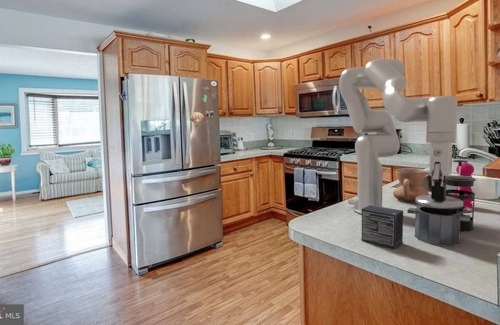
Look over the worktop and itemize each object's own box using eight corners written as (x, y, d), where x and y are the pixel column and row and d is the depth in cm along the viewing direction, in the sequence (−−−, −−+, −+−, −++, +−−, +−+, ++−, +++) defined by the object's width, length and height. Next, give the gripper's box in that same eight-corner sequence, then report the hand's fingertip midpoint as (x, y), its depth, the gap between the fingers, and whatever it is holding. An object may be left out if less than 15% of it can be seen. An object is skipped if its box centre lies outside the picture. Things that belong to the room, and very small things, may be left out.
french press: (444, 219, 111) (447, 157, 108) (476, 225, 104) (480, 159, 101) (436, 228, 103) (439, 161, 100) (470, 234, 96) (474, 163, 93)
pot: (403, 238, 95) (404, 211, 94) (411, 227, 104) (412, 202, 103) (467, 250, 85) (468, 219, 84) (469, 237, 94) (471, 209, 93)
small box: (403, 243, 92) (404, 209, 90) (395, 250, 87) (396, 215, 86) (369, 235, 99) (370, 204, 98) (360, 240, 95) (360, 208, 93)
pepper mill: (477, 209, 121) (480, 160, 118) (457, 209, 122) (459, 160, 120) (468, 205, 128) (470, 158, 125) (449, 204, 129) (451, 158, 127)
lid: (411, 205, 92) (412, 187, 91) (419, 196, 101) (420, 180, 101) (461, 211, 84) (462, 191, 83) (464, 201, 94) (465, 183, 93)
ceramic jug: (399, 194, 150) (399, 166, 148) (432, 198, 140) (433, 168, 138) (387, 203, 137) (387, 172, 135) (422, 207, 127) (423, 174, 125)
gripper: (452, 139, 82) (450, 205, 84) (458, 136, 94) (455, 193, 97) (421, 139, 86) (419, 202, 89) (430, 136, 99) (428, 191, 101)
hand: (438, 197), depth 93 cm, fingers closed on lid, 3 cm apart
